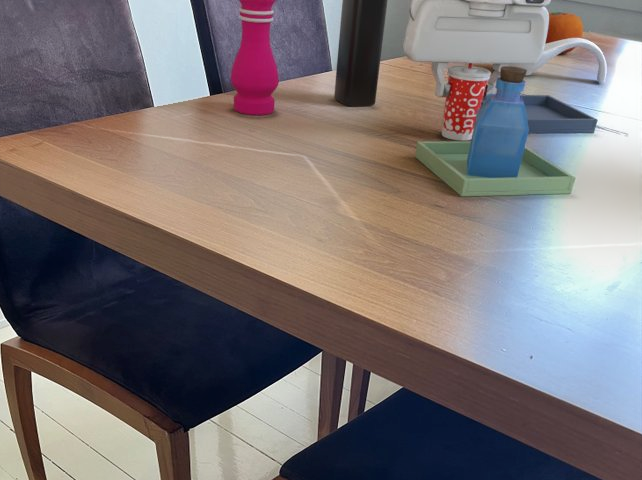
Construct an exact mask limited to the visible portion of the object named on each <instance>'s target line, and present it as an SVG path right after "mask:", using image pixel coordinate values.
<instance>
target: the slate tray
mask: <svg viewBox="0 0 642 480" xmlns="http://www.w3.org/2000/svg"><path fill="white" fill-rule="evenodd" d="M520 97H522V98H523V101H524V105H525V110H526V116H527V121H528V127H529V132H528V134H594V133H595V131H596V128H597V124H598V121H599V120H598V118H595V117H593V116H591V115H589V114H588V113H586V112H584V111H581V110H579V109H577V108H576V107H574V106H571V105H570V104H567V103H565V102H564V101H561V100H559V99H557V98H555V97H554V96H551V95H548V94H544V95H543V94H520ZM486 99H487V98H484V97H483V99H482V103H481V105H482V104H483V103H484V101H485V100H486Z"/></svg>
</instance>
